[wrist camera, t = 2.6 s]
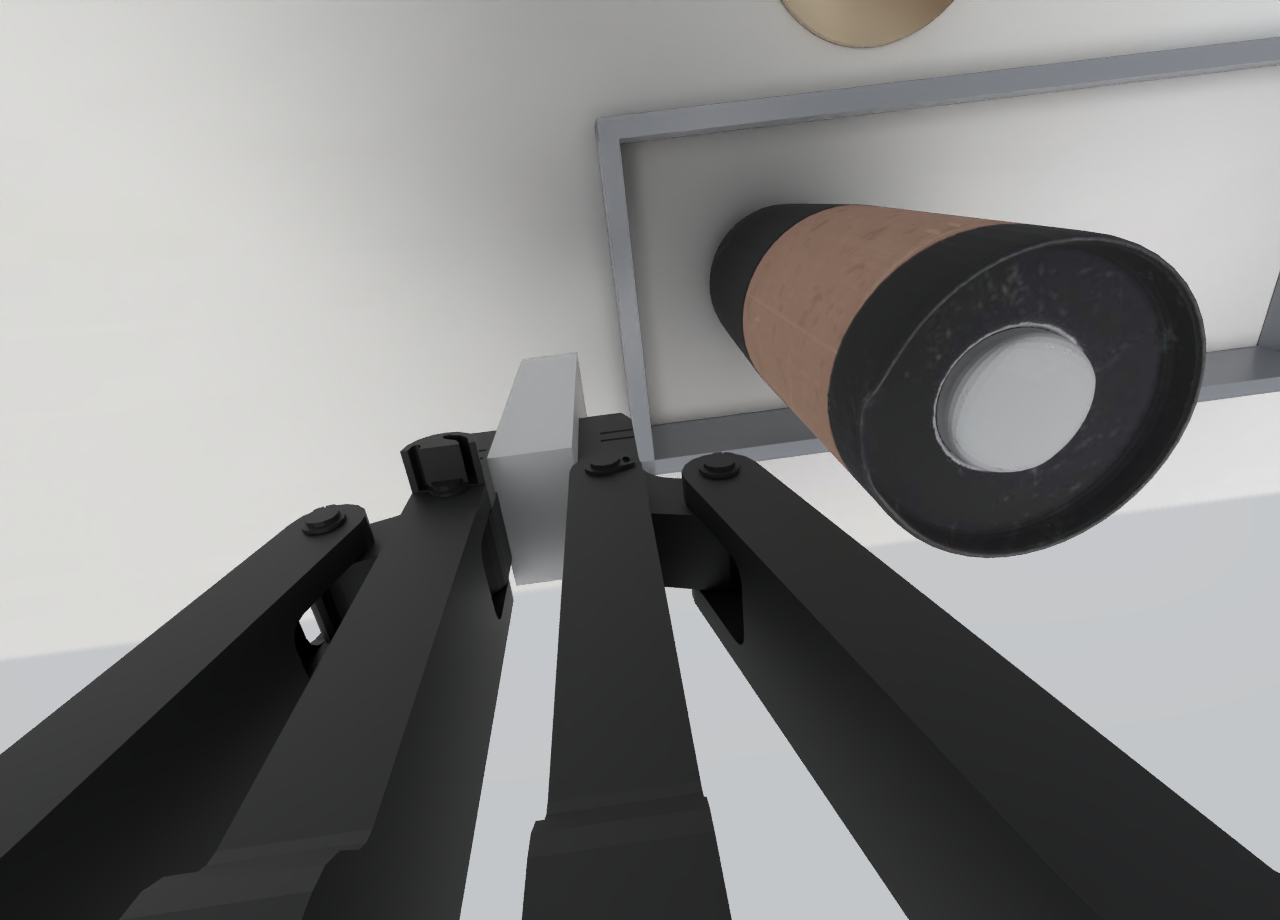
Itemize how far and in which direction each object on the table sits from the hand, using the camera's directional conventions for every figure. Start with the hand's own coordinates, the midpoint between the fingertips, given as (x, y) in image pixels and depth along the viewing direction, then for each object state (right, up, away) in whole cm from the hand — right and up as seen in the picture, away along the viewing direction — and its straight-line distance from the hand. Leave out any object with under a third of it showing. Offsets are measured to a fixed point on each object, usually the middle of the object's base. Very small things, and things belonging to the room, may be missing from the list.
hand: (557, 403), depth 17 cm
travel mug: (+9, +8, +15) cm, 19 cm away
